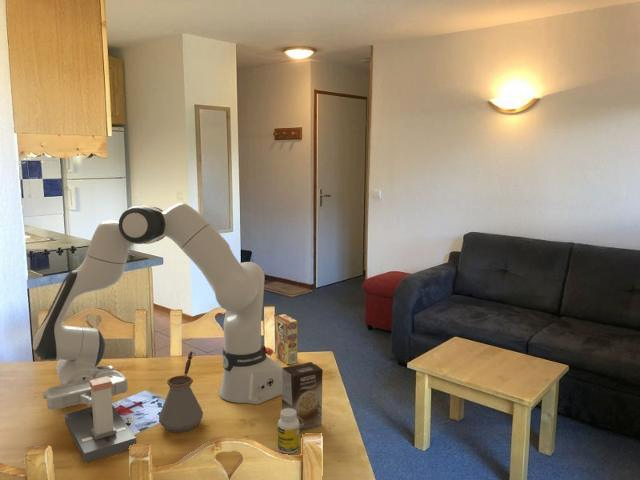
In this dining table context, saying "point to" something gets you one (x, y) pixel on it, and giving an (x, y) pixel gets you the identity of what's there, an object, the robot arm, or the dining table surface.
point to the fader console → (96, 449)
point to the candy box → (286, 338)
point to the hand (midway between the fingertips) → (94, 402)
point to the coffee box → (303, 393)
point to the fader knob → (102, 407)
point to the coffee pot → (181, 404)
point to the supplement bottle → (288, 431)
